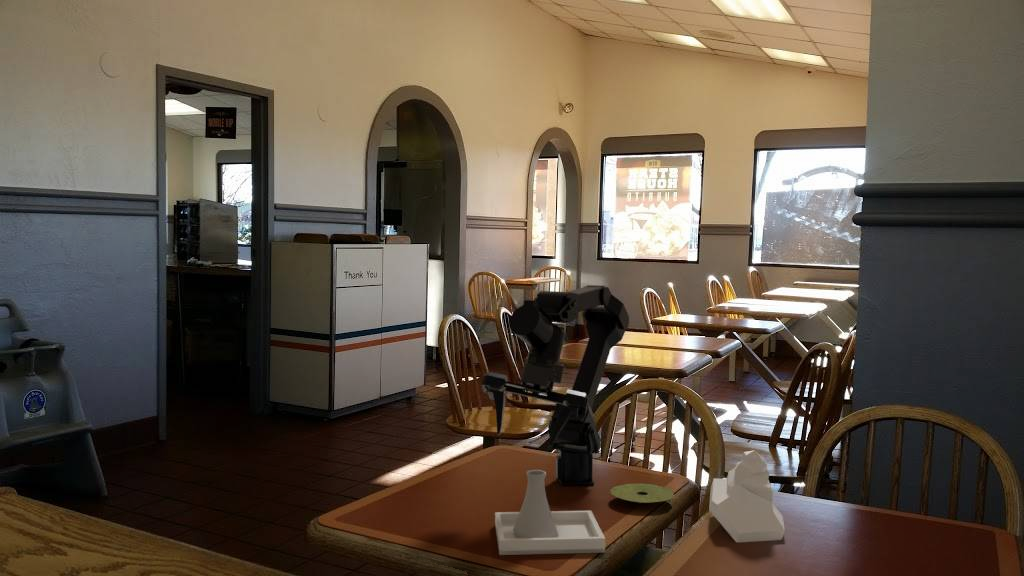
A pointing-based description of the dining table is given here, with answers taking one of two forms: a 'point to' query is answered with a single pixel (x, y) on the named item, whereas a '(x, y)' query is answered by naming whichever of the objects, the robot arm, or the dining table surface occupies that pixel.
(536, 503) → the flask
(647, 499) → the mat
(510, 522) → the tray
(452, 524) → the dining table surface
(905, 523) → the dining table surface
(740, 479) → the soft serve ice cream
